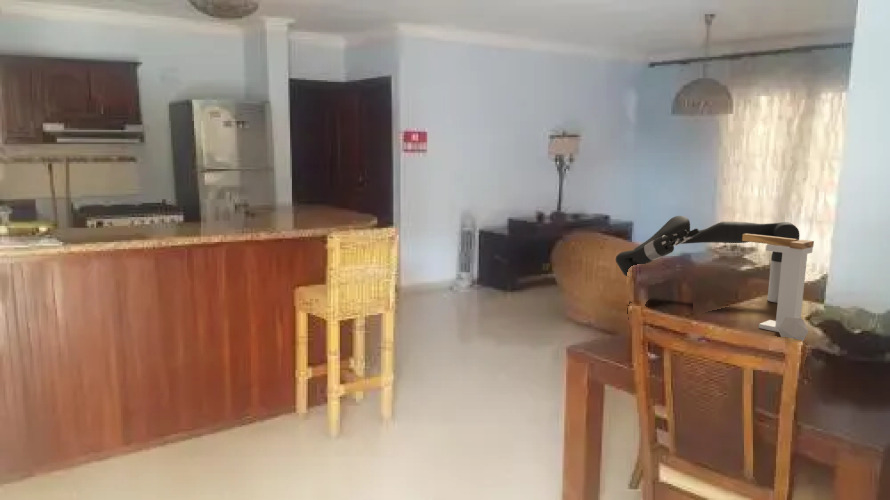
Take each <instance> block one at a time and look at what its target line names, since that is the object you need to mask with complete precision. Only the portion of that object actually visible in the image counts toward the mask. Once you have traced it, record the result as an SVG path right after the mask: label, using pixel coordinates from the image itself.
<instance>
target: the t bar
mask: <svg viewBox="0 0 890 500" xmlns="http://www.w3.org/2000/svg"><path fill="white" fill-rule="evenodd" d="M742 241H747V242H746V243H757V244H766V245H769V244H773V245H781V246H789V247H790V248H795V249H806V248H810V247H813V248H814V243H815V242H814V241H815V240H808V239H807V240H806V239H799V240H798V239H792V238H783V237H774V236H765V235H756V234H747V233H746V234H743V237H742Z"/></svg>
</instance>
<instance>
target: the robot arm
mask: <svg viewBox="0 0 890 500" xmlns="http://www.w3.org/2000/svg"><path fill="white" fill-rule="evenodd" d="M746 233H747V234H756V235H765V236H774V237H783V238H792V239H798V240H800V231H799V228H798V227H797V226H796V225H795V224H793V223H791V222H788V221H781V222H772V223H758V222H757V223H756V222H748V221H747V222H746V221H721V222H718V223H715V224H713V225H711V226H709V227H707V228H704V229H700V230H699V228H698V227H697V228H694V229H692V230H691V222H690V219H689V217H688V218H687V216H684V215H675V216H673V217H672V218H670V219H669V220H668V221H666V223H665V224H664V225H662V227H661V228H659V230H658V231H656V232H655V233H654V234H653V235H652V236H650V238H648V239H647V240H645V241H644V242H643V243H641V244H640V245H638V246H637V247H635V248H634V249H632V250H627V251H626V250H625V251H622V252H620V253H618V254H617V255H616V257H615V263H616V264H617V266H618V267H619V269H620V271H621V272H622V274H623V275H624V276H625V277H628V276H627V272H628V269H629V268H630V267H631V266H633V265H637V264H645V265H647V264H649V263H651V262H654V261H655V260H658V259H661V258H663V257H665V256H667V255H669V254H671V253H673V252H674V251H675V250H674V249H675V247H676V246H679V245H680V244H681V245H682V244H685V245H687V244H701V243H715V244H716V243H720V244H722V243H723V244H745V243H746V244H747V243H748V242H747V241H742V237H743V234H746ZM771 252H772V253H771V258H770V259H771V261H770V268H769V270H770V271H769V278H768V279H769V280H768V281H769V282H768V290H767V291H768V292H767V301H768V302H772V303H775V304H778V293H779V283H780V273H781V262H782V253H781V252H773V251H771ZM646 263H647V264H646Z"/></svg>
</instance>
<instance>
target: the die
mask: <svg viewBox="0 0 890 500" xmlns="http://www.w3.org/2000/svg"><path fill="white" fill-rule="evenodd" d="M778 333H779V335H780V338H781V337H788V338H794V339H798V340H802V341H803V342H804V340H805V338H806V337H807V336H808V333H809V329H808V327H807V325H806V323H805V320H804V319H803V318H801V319H799V318H790V317H785V318H784V320H783V322H782V324H781V326H780V328H779V332H778Z"/></svg>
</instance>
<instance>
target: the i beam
mask: <svg viewBox="0 0 890 500" xmlns="http://www.w3.org/2000/svg"><path fill="white" fill-rule="evenodd" d="M765 246H766V247H765V251H767V252H781V253H782V262H781V273H780V283H779V293H778V303H776V304H777V307H776V317H775V320H772V319H768V320H765V321H763V322H761V323H758V329H763V330H768V331H770V332H771V331H772V332H776V333H779V328H780V326H781V324H782V322H783V320H784V318H785V317H790V318H799V319H802V309H803V300H804V289H805V280H806V273H807V272H806V271H807V270H806V269H807V261H808V254H812V253H813V248H814V246H813V247H810V248H806V249H795V248H790V247H789V246H781V245H773V244H766V245H765Z"/></svg>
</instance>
